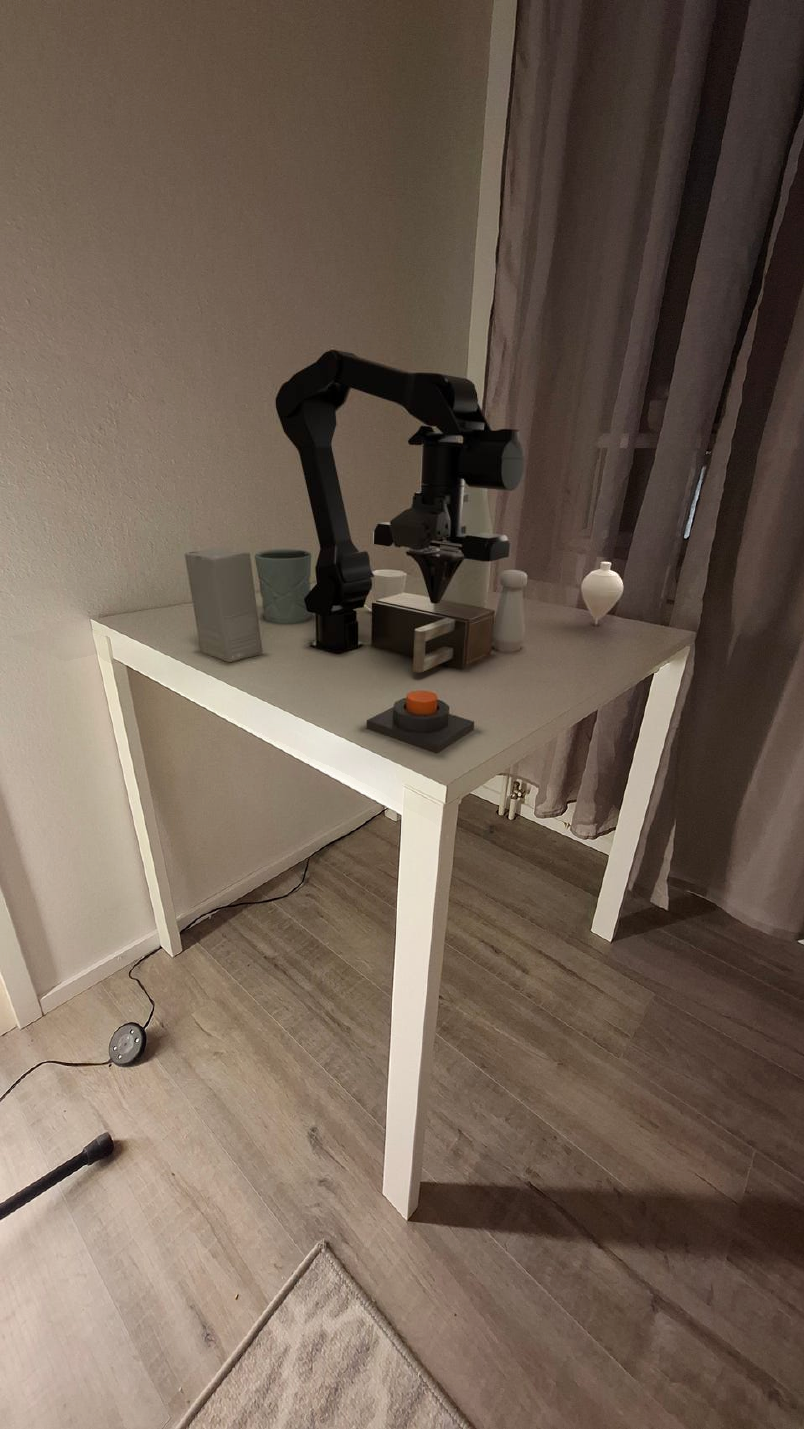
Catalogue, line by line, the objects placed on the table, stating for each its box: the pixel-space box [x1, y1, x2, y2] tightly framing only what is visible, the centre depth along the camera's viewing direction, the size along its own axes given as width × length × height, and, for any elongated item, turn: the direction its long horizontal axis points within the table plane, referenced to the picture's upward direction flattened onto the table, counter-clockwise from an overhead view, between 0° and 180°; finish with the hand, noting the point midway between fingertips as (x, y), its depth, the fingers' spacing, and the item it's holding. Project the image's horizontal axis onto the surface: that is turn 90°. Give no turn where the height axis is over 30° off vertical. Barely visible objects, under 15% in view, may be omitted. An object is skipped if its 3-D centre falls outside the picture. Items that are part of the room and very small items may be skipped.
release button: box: [405, 690, 438, 714], centre depth 72 cm, size 4×4×2 cm
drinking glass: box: [254, 548, 312, 624], centre depth 114 cm, size 10×10×12 cm
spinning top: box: [580, 561, 624, 626], centre depth 117 cm, size 8×8×12 cm
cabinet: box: [376, 592, 496, 669], centre depth 100 cm, size 8×18×8 cm, turn 54°
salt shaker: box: [492, 569, 528, 653], centre depth 101 cm, size 6×6×13 cm
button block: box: [366, 697, 475, 755], centre depth 72 cm, size 10×8×3 cm
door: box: [370, 601, 468, 673], centre depth 93 cm, size 10×18×7 cm, turn 54°
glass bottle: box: [437, 482, 493, 608], centre depth 114 cm, size 10×10×28 cm
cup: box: [363, 569, 408, 613], centre depth 120 cm, size 7×10×8 cm
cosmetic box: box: [184, 547, 263, 663], centre depth 93 cm, size 8×7×16 cm
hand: (435, 603), depth 86 cm, fingers closed
